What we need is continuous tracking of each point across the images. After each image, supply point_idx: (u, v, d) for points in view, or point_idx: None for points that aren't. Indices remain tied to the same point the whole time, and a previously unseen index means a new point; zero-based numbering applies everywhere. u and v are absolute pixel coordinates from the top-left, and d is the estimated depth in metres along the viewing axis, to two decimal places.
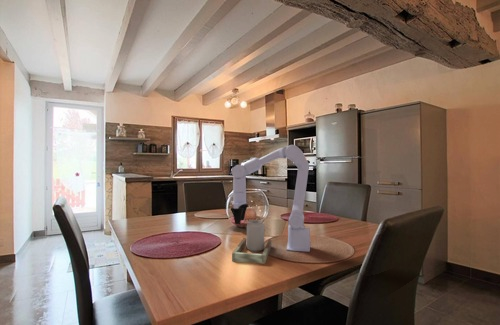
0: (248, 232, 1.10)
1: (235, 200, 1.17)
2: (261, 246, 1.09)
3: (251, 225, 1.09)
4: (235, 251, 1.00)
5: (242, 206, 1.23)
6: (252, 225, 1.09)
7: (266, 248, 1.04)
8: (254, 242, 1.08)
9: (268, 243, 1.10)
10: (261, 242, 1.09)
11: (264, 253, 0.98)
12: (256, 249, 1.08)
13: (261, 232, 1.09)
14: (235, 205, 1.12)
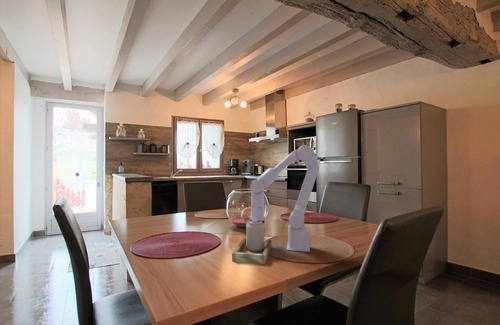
0: (248, 232, 1.09)
1: (253, 216, 1.15)
2: (261, 246, 1.09)
3: (251, 225, 1.09)
4: (235, 251, 1.00)
5: None
6: (252, 225, 1.08)
7: (266, 248, 1.04)
8: (254, 242, 1.08)
9: (268, 243, 1.10)
10: (261, 242, 1.09)
11: (264, 253, 0.98)
12: (256, 249, 1.08)
13: (261, 232, 1.09)
14: (254, 221, 1.10)
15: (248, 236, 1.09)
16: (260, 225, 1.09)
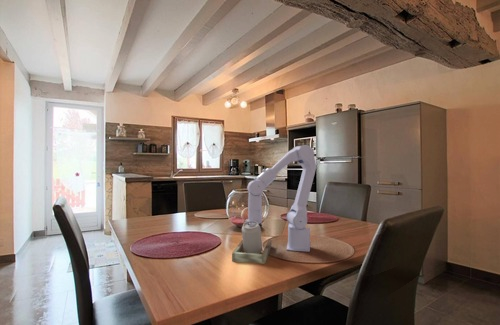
0: (243, 237, 1.03)
1: (250, 219, 1.09)
2: (258, 249, 1.04)
3: (246, 230, 1.02)
4: (235, 251, 1.00)
5: None
6: (247, 230, 1.01)
7: (266, 248, 1.04)
8: (250, 247, 1.03)
9: (268, 243, 1.10)
10: (258, 246, 1.03)
11: (264, 253, 0.98)
12: (253, 253, 1.03)
13: (257, 236, 1.02)
14: None
15: (244, 240, 1.03)
16: (256, 229, 1.02)
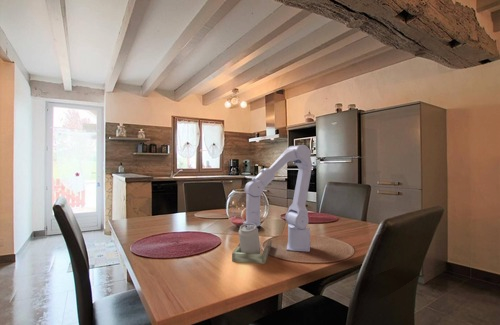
0: (240, 240, 0.99)
1: (248, 221, 1.05)
2: (256, 253, 1.00)
3: (242, 233, 0.98)
4: (235, 251, 1.00)
5: None
6: (243, 233, 0.98)
7: (266, 248, 1.04)
8: (247, 250, 0.99)
9: (268, 243, 1.10)
10: (255, 249, 0.99)
11: (264, 253, 0.98)
12: None
13: (254, 240, 0.98)
14: (249, 228, 1.00)
15: (241, 243, 1.00)
16: (253, 232, 0.98)
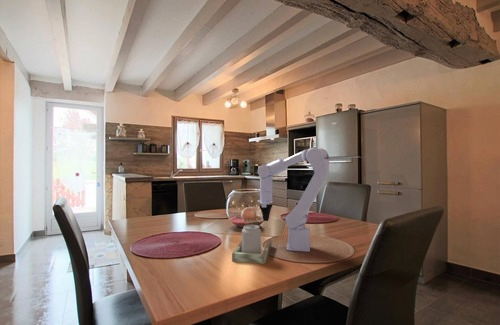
0: (243, 238, 1.01)
1: (262, 199, 1.20)
2: None
3: (246, 230, 1.01)
4: (235, 251, 1.00)
5: None
6: (247, 230, 1.00)
7: (266, 248, 1.04)
8: (248, 249, 1.00)
9: (268, 243, 1.10)
10: (256, 249, 1.00)
11: (264, 253, 0.98)
12: None
13: (256, 238, 1.00)
14: (263, 204, 1.15)
15: (243, 242, 1.01)
16: (256, 231, 1.00)
